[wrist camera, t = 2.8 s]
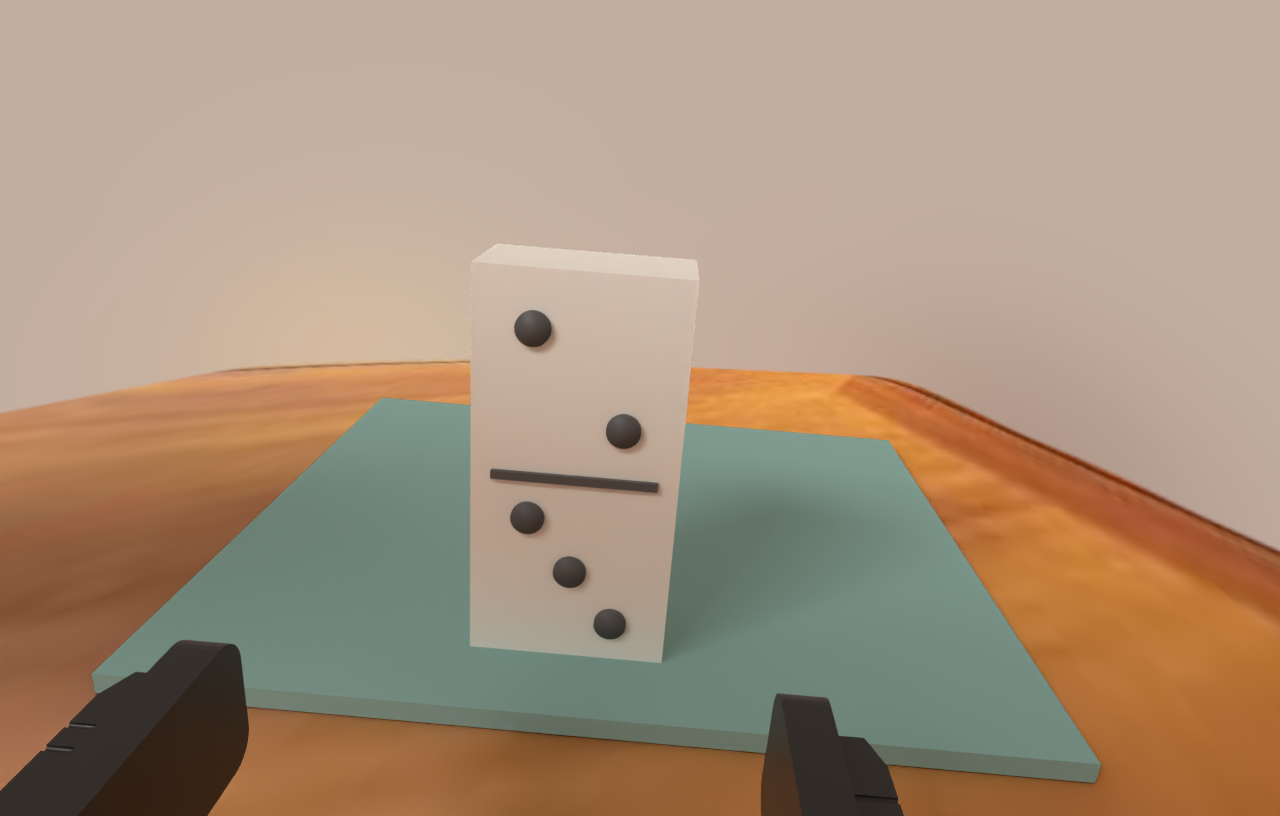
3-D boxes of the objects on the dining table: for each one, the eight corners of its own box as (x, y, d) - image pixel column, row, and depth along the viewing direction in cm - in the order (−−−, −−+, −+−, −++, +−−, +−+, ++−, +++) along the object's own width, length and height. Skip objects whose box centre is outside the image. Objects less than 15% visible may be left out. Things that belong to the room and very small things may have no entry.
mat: (95, 692, 21) (91, 673, 21) (382, 408, 42) (382, 397, 42) (1095, 782, 21) (1101, 764, 21) (886, 451, 41) (888, 440, 41)
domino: (468, 649, 23) (469, 262, 19) (492, 588, 26) (496, 243, 22) (661, 666, 23) (699, 281, 19) (663, 603, 26) (696, 259, 22)
